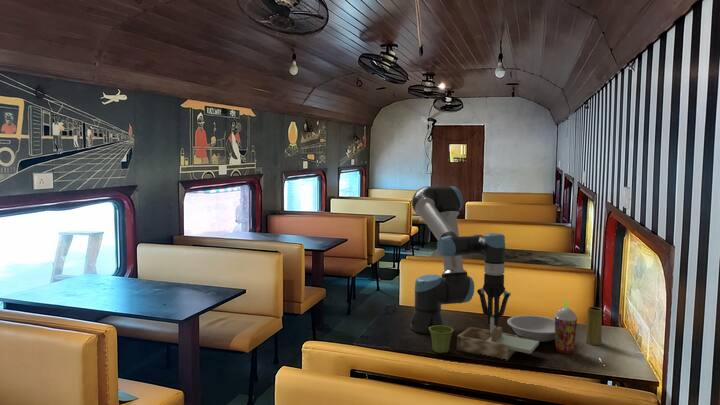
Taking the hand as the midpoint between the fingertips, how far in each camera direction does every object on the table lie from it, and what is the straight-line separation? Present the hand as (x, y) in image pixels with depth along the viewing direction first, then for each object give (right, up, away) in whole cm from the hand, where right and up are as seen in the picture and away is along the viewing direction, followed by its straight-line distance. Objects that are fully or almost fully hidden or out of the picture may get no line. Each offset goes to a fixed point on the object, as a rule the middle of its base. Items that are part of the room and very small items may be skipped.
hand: (492, 333), depth 203 cm
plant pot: (-20, -7, +1) cm, 22 cm away
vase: (+44, -7, +11) cm, 46 cm away
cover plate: (+6, -3, -4) cm, 8 cm away
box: (-2, -7, +2) cm, 7 cm away
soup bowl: (+22, -6, +15) cm, 28 cm away
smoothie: (+28, -8, +1) cm, 29 cm away
